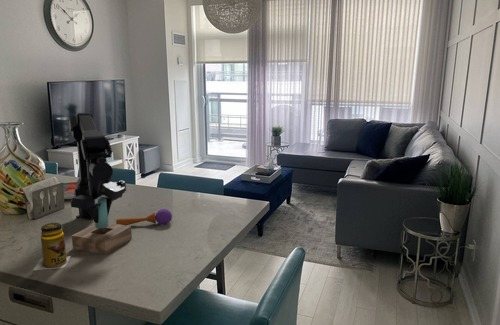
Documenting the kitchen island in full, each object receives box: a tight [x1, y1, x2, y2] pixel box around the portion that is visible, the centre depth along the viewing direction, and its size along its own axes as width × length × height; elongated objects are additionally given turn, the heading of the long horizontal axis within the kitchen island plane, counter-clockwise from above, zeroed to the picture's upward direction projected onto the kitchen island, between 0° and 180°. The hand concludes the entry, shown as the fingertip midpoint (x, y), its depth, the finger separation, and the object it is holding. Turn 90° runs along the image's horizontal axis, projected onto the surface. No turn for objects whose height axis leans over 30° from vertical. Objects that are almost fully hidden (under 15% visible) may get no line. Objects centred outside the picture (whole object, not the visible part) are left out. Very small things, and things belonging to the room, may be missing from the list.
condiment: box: [33, 222, 71, 271], centre depth 110 cm, size 7×8×12 cm
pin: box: [94, 198, 109, 228], centre depth 123 cm, size 4×4×9 cm
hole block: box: [71, 222, 133, 255], centre depth 125 cm, size 13×13×4 cm
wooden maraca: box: [115, 208, 173, 226], centre depth 141 cm, size 6×6×20 cm
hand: (101, 220), depth 124 cm, fingers closed on pin, 4 cm apart
